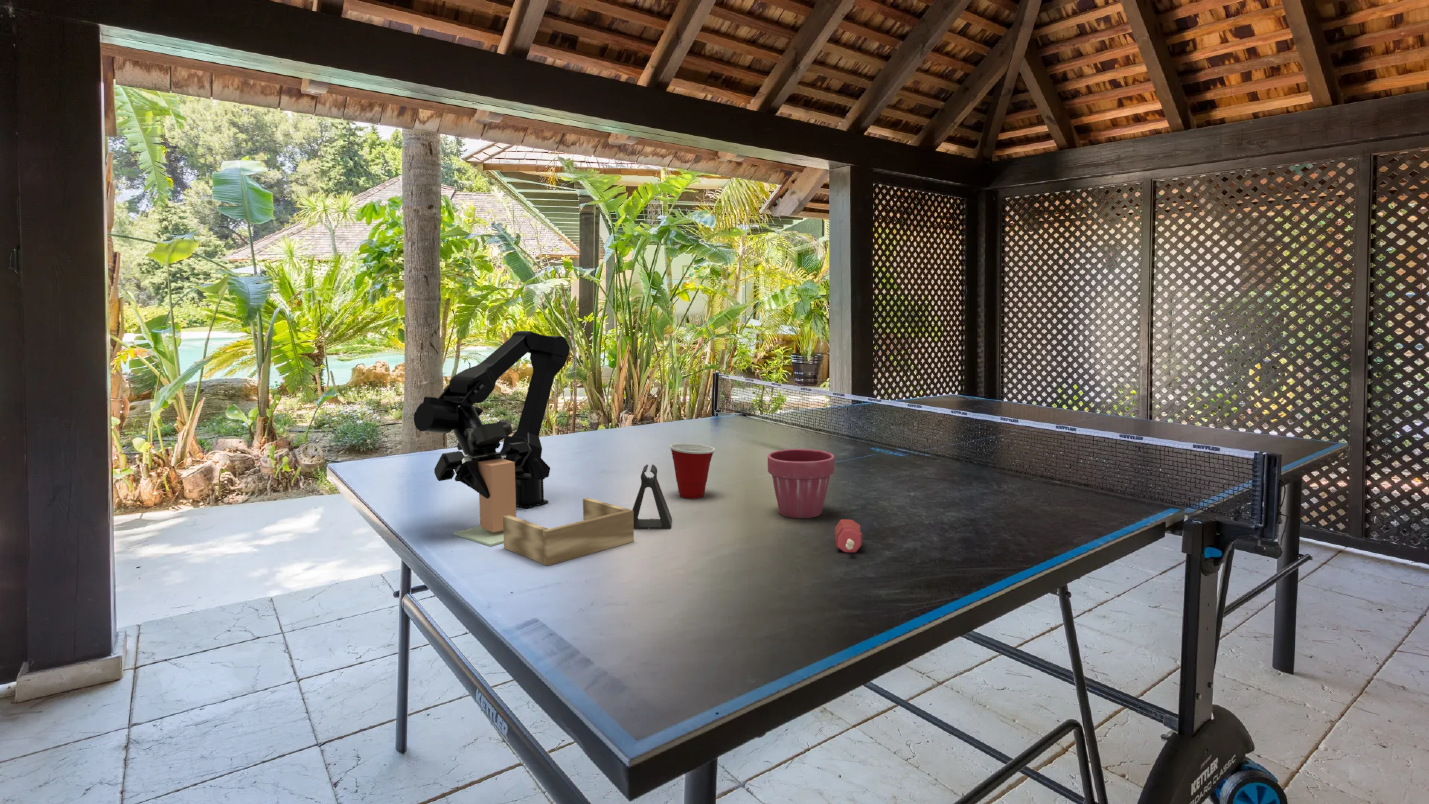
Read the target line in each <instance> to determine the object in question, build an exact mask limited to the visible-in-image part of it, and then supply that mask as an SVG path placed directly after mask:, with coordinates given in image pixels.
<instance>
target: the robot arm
mask: <svg viewBox="0 0 1429 804" xmlns="http://www.w3.org/2000/svg"><path fill="white" fill-rule="evenodd" d="M570 352H571V346H570V344H569V342H568V340H567V339H566V337H564V336H561V335H545V334H540V333H537V332H534V331H532V330H517V331H515V332H513V333H512V335H511V337H509V338H508V339H507V340H506V341H505V342H504V343H503V344H502V345H500V346H498V348H496V349H495V350H494V351H493V352H492V353H491V354H490V355H489V356H487V357H486V358H485V359H484V360H483V361H482V362H480V363H478V364H476V365H474V366H471V367H469V368H466V369H463V370H462V371H460V372H458V373H457V374H454V375H453V377H451V378H450V381H449V385H448V386H447V387H446V388H445V389H444V390H443V392H442V393H441V394H440V395H439V396H438V397H434V396H424V397H423V402H422V403H420V404H419V405H418V407H417V408H416V410H415V412H414V414H413V424H414V426H415V428H416V429H417V430H418V431H420V432H425V433H426V432H427V433H436V434H438V433H439V434H449V433H451V432H452V431H453V433H454V435H455V438H456V439H457V440H456V441H457V442H458V443H457V444H456V448H457V451H451V452H444V453H442V454H441V455H440V457H439V459H438V461H437V463H436V465H435V467H434V469H433V470H434V476H435V477H436V480H437V481H438V482H441V481H443V482H444V481H447V480H452V479H454V481H455V482H460V483H462V484H464V485H466V486H467V487H469V488H471V489H473V491H475V492H476V493H478V495H479V494H481V495H482V496H484V497H485V498H486V499H488V498H489V497H490V493H489V490H488V488H487V486H486V484H485V482H484V480H483V478H482V476H481V474H480V472H479V467H478V462H482V461H488V460H495V459H505V460H509V461H512V462H515V491H516V507H519V508H524V509H529V508H533V507H536V506H540V505H544V504H548V503H549V500H548V499H545V496H544V495H545V494H544V492H545V491H544V490H545V489H544V480H545V479H547V478H549V476H550V473H551V467H550V466H549V465H548V464H547V462H545V461H544V459H543V458H542V453H543V446H542V442H541V439H540V433H541V428H542V425H543V421H544V417H545V413H546V411H547V410H546V409H547V407H548V402H549V399H550V396H551V391H552V388H553V384H554V380H555V377H556V375H557V374H558V373H559V372H560V371H561V370H562V369H563V368H564V367H565V365H566V362H567V360H568V357H569V355H570ZM526 354H530V355H529V360H530V364H531V367H532V373H531V374H532V375H531V377H530V381H529V385H528V388H527V392H526V395H525V398H524V399H525V400H524V402H523V407H522V411H521V412H520V413H521V414H520V417H519V422H518V425H517V428H516V430H515V432H514V433H513V428H512V425H511V423H510V421H509V419H508V418H505V419H499V420H498V421H496V422H492V423H491V422H490V423H483V422H482V420H481V418H480V416H481V415H482V414H483V412H484V409H482V408H481V407H477V406H475V404H481V403H482V404H483V402H485V401H486V400H487V399H488V398H489V396H490V395H491V394H492V393H493V392H494V390H495V388H496V384H497V381H498V380H499V379H500V377H502V376H503V375H504V374H505V373H506V372H508V370H510V368H511V367H514V365H515V364H516V363H518V361H520V360H521V359H522V358H523V357H524V356H525V355H526ZM502 440H503V441H502ZM501 441H502V442H503V443H502V447H501V449H500V451H497V449H499V448H500V446H501V443H500V442H501Z"/></svg>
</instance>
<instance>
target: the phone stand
mask: <svg viewBox="0 0 1429 804" xmlns="http://www.w3.org/2000/svg"><path fill="white" fill-rule="evenodd" d="M648 467H649V464H645V465H644V466H643V468H642V472H641V475H640V483H641V484H640V487H639V489H638V492H637V496H636V498H635V501H634V504H633V506H632V509H631V510H633V514H634V530H669V529H672V524H673V523H672V522H673V518H672V517H673V516H672V514H671V512H670V509H669V507H668V504H667V501H666V499H665V496H664V493H663V491H662V489H661V486H660V483H659V481H658V468H657V466H656V465H654V464H653V463H652V464H651V467H650V469H649V470H650V471H649V472H650V473H652V474H653V476H651V477H650V476H647V475H646V474H645V473H646V472H647V471H648ZM647 488H650V489H651V491H652V495H653V499H654V502H655V505H656V508H657V513H658V517H659V518H642V519H641V518H639V515H640V511H641V508H642V507H641V506H642V503H643V499H644V495H645V492H646V489H647Z"/></svg>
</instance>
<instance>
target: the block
mask: <svg viewBox="0 0 1429 804" xmlns="http://www.w3.org/2000/svg"><path fill="white" fill-rule="evenodd" d="M478 467H479V472H480V474H481V476H482V478H483V480H484V482H485V484H486V486H487V488H488V490H489V493H490V497H489V498H488V499H486V498H485V497H484V496H482V495H481V494H479V493H478V495H479V497H478V498H479V499H478V500H479V501H478V502H479V522H480V525H479V526H480V527H481V528H484V529H486V530H489V531H491V532H497V531H502V530H503V516H507V515H510V516H513V517H516V518H517V506H516V491H515V462H512V461H509V460H505V459H495V460H488V461H482V462H478Z"/></svg>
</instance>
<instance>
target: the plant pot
mask: <svg viewBox="0 0 1429 804" xmlns="http://www.w3.org/2000/svg"><path fill="white" fill-rule="evenodd" d="M767 472H768V474H770V475H771V476H772V477H771V478H772V484H773V489H774V494H775V498H776V502H777V507H778V512H779V513H780V515H782V516H784V517H788V518H793V519H809V518H815V517H818V516H820V515H821V514H822V513H823V507H824V504H825V500H826V495H827V493H828V487H829V483H830V479H831V478H830V477H831V476H832V475H834V473H835V455H834V454H832V453H831V452H828V451H825V450H819V449H818V450H817V449H811V448H810V449H809V448H787V449H780V450H776V451H772V452H770V453H768V455H767Z"/></svg>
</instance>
